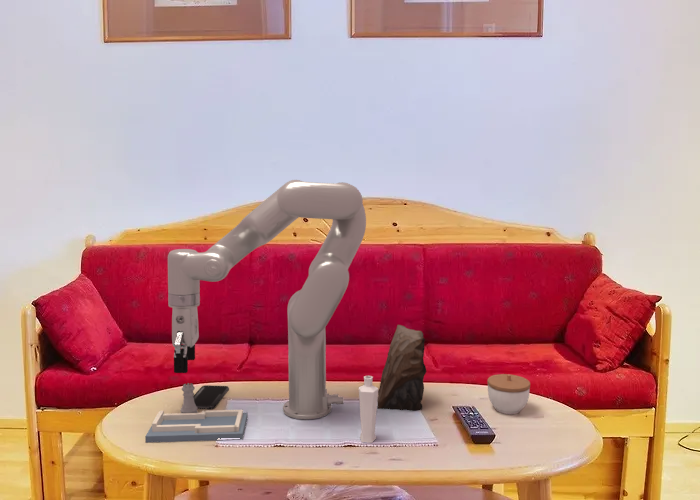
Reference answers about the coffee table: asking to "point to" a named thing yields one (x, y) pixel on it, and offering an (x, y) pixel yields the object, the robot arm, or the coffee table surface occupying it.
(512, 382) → the lidded jar
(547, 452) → the coffee table surface
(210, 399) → the phone
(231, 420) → the keyhole board
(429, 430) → the coffee table surface
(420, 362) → the brown rock
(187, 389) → the rook chess piece
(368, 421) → the perfume bottle
